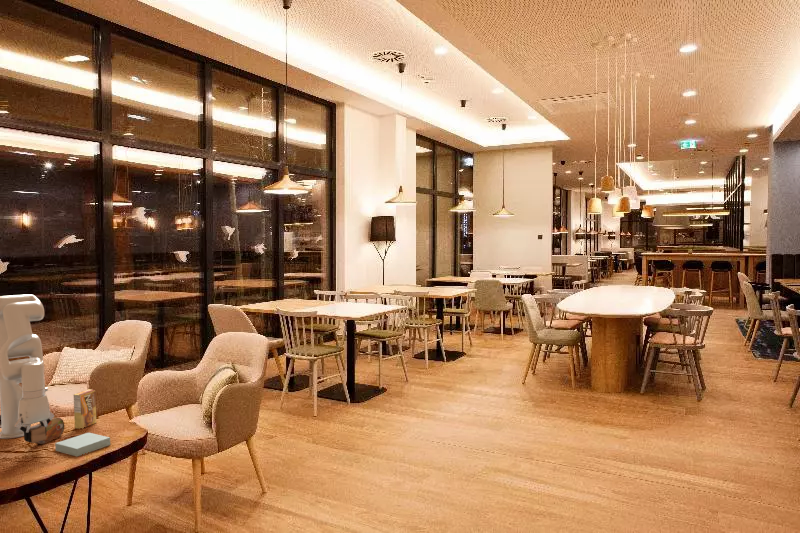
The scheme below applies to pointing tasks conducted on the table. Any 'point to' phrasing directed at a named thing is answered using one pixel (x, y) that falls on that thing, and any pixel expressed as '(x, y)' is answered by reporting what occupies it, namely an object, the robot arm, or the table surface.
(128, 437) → the table surface
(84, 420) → the candy box
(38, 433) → the walnut block
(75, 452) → the plinth
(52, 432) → the tin
